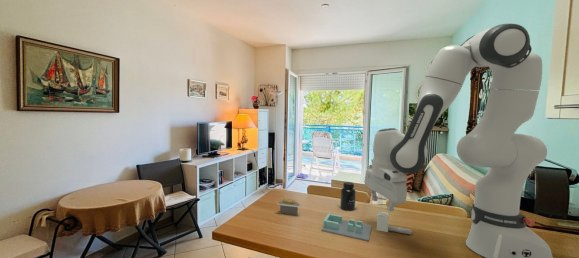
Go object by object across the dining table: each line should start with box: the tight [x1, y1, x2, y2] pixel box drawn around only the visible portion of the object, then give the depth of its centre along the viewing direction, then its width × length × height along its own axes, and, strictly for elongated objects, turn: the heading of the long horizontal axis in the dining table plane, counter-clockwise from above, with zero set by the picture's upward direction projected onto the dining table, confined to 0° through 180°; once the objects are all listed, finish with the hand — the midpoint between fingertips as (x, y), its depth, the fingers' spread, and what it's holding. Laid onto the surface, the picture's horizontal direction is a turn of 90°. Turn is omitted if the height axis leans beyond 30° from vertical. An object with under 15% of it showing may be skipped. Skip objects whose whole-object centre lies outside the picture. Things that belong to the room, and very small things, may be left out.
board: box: [321, 213, 372, 242], centre depth 91 cm, size 17×12×3 cm
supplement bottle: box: [339, 181, 357, 211], centre depth 111 cm, size 7×7×12 cm
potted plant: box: [277, 197, 301, 216], centre depth 104 cm, size 12×18×7 cm, turn 75°
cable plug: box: [376, 210, 412, 236], centre depth 89 cm, size 12×4×6 cm, turn 66°
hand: (382, 205), depth 90 cm, fingers open, 8 cm apart
